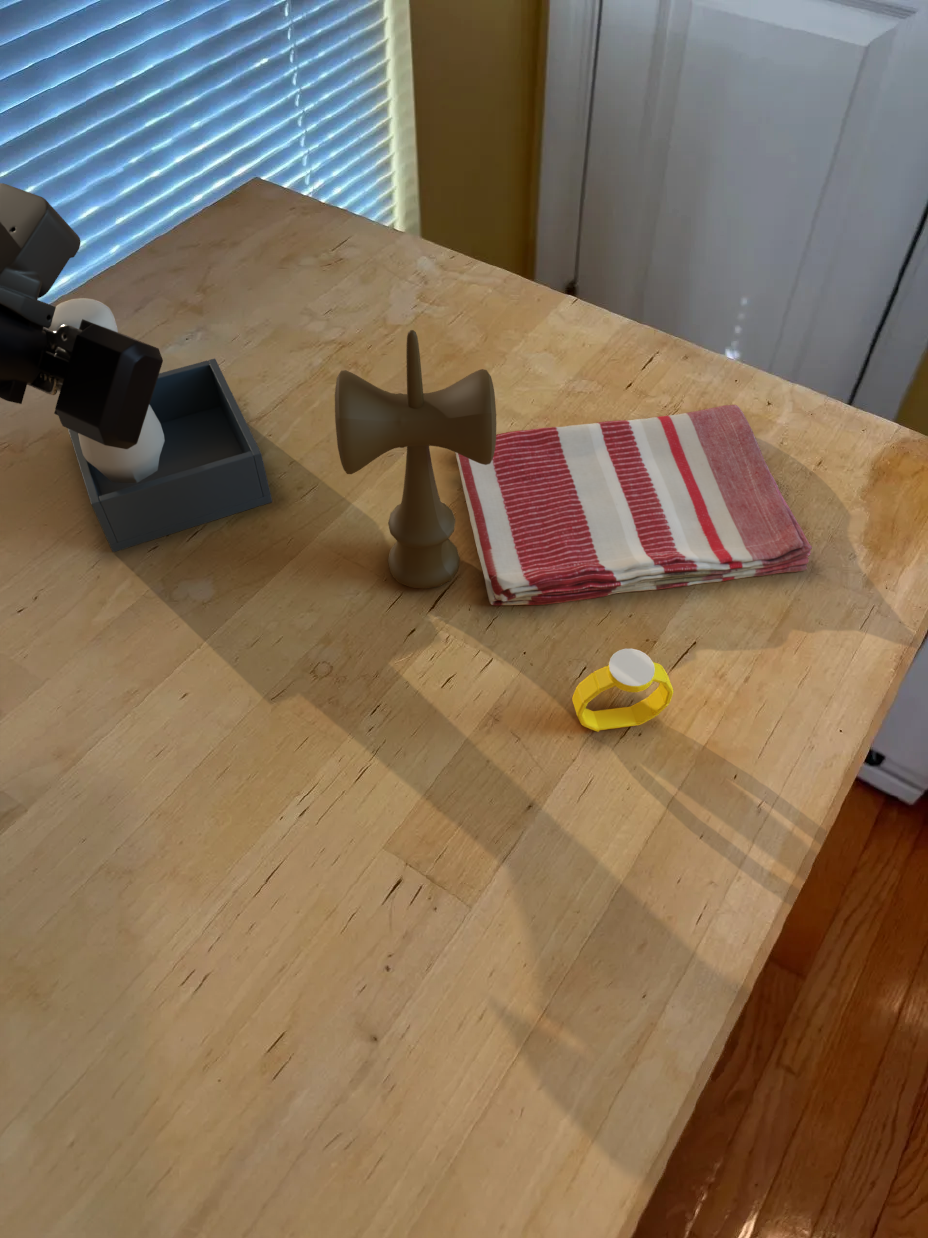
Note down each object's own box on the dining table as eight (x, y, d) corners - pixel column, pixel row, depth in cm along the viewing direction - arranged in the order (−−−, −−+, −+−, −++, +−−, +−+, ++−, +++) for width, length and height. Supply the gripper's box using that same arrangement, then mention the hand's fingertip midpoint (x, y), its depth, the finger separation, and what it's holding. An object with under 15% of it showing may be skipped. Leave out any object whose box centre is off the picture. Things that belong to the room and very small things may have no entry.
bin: (112, 552, 69) (91, 504, 65) (80, 449, 75) (58, 400, 71) (272, 502, 72) (261, 453, 68) (227, 407, 79) (214, 357, 75)
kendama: (357, 539, 69) (326, 301, 54) (487, 533, 70) (494, 295, 54) (356, 602, 66) (322, 367, 50) (493, 596, 66) (502, 360, 50)
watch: (576, 746, 59) (586, 694, 54) (565, 709, 60) (573, 656, 56) (668, 731, 59) (685, 678, 55) (654, 694, 61) (670, 640, 56)
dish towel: (812, 572, 67) (823, 547, 65) (491, 615, 65) (492, 591, 63) (732, 418, 78) (739, 393, 76) (452, 451, 75) (452, 426, 73)
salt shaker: (85, 449, 70) (22, 295, 60) (162, 430, 72) (113, 276, 61) (98, 501, 67) (33, 346, 57) (178, 479, 68) (129, 325, 58)
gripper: (86, 213, 46) (263, 301, 60) (-167, 123, 51) (51, 223, 66) (23, 432, 47) (209, 466, 62) (-215, 321, 53) (7, 376, 68)
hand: (117, 376), depth 64 cm, fingers closed on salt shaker, 3 cm apart
